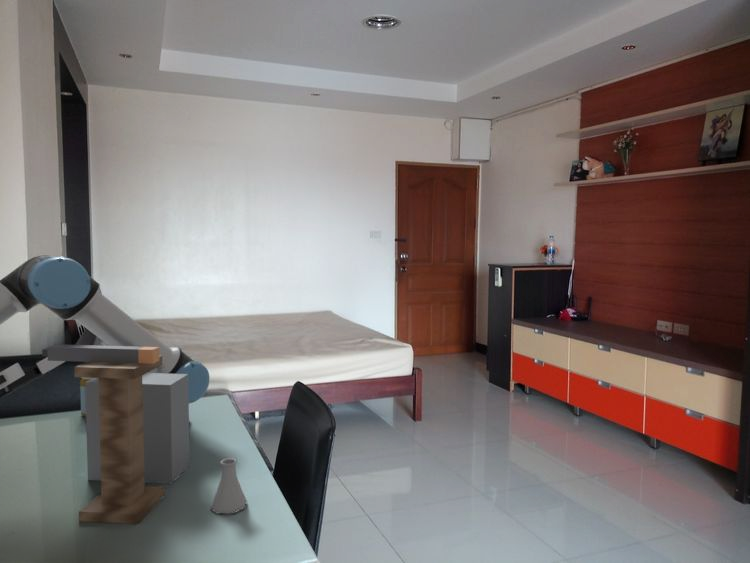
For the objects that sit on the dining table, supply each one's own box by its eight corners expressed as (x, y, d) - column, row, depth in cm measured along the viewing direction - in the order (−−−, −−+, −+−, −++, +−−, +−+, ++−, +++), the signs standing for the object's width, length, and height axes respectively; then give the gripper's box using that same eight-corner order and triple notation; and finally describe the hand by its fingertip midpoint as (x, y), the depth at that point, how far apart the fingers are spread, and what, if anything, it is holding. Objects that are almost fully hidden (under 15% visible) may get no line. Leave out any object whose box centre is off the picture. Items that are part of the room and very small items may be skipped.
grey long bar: (40, 360, 113) (39, 346, 113) (49, 357, 116) (48, 344, 115) (153, 363, 111) (152, 349, 111) (159, 360, 114) (159, 347, 114)
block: (87, 480, 129) (85, 382, 127) (111, 462, 138) (108, 371, 137) (172, 483, 127) (170, 384, 125) (189, 465, 137) (188, 374, 135)
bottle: (95, 418, 171) (94, 370, 170) (76, 416, 173) (74, 369, 172) (110, 411, 178) (109, 365, 177) (91, 410, 180) (90, 364, 178)
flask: (253, 502, 119) (253, 457, 118) (234, 518, 112) (233, 470, 111) (224, 497, 121) (223, 452, 120) (203, 512, 114) (203, 465, 114)
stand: (78, 521, 110) (74, 367, 108) (111, 493, 122) (108, 354, 120) (137, 523, 109) (134, 368, 107) (164, 495, 121) (162, 355, 119)
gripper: (13, 406, 128) (88, 363, 126) (-83, 447, 104) (8, 394, 101) (-3, 378, 128) (71, 334, 126) (-104, 412, 103) (-13, 358, 101)
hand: (44, 361), depth 114 cm, fingers open, 13 cm apart
